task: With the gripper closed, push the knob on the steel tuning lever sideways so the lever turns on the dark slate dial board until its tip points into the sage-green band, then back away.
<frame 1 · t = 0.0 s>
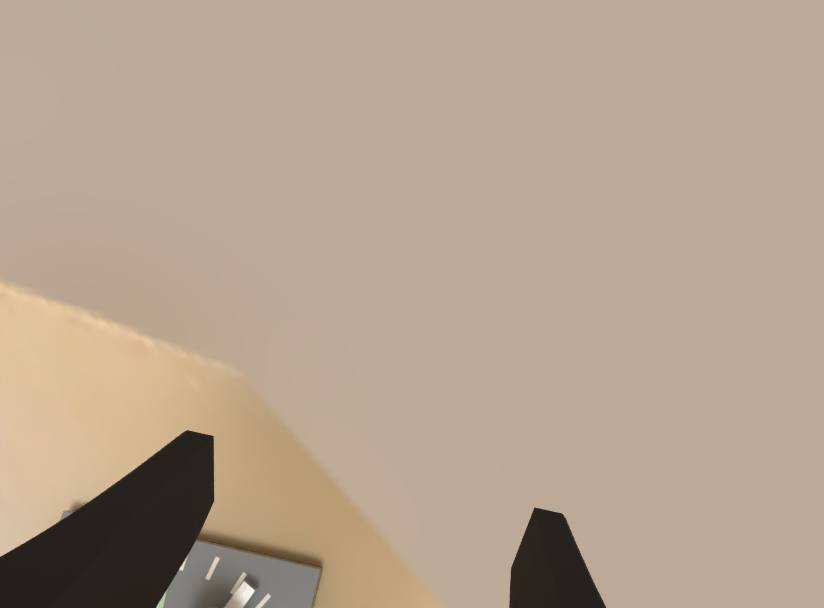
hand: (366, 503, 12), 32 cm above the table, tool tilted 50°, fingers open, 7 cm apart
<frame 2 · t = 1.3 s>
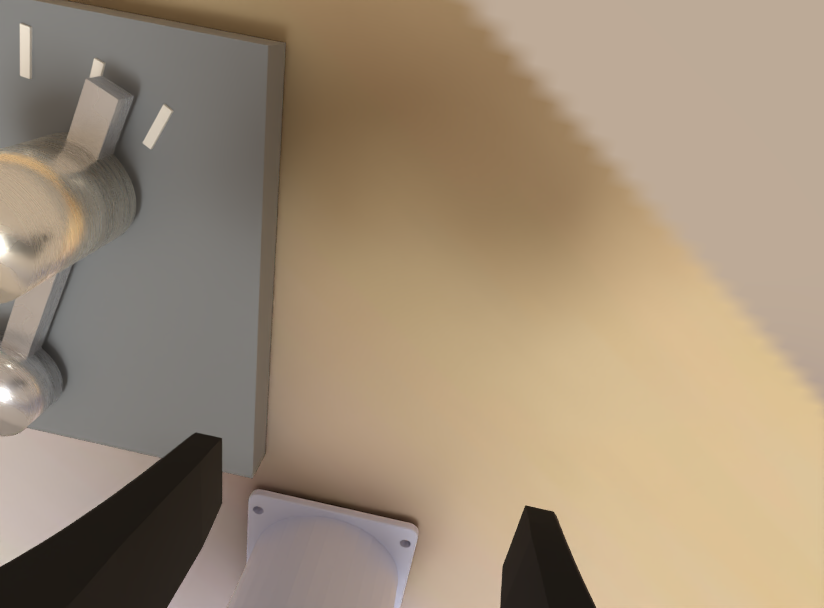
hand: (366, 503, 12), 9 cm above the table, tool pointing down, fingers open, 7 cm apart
lever: (4, 298, 18), point 4 cm above the table, hinge at -24.0°
dial board: (33, 237, 22), on the table
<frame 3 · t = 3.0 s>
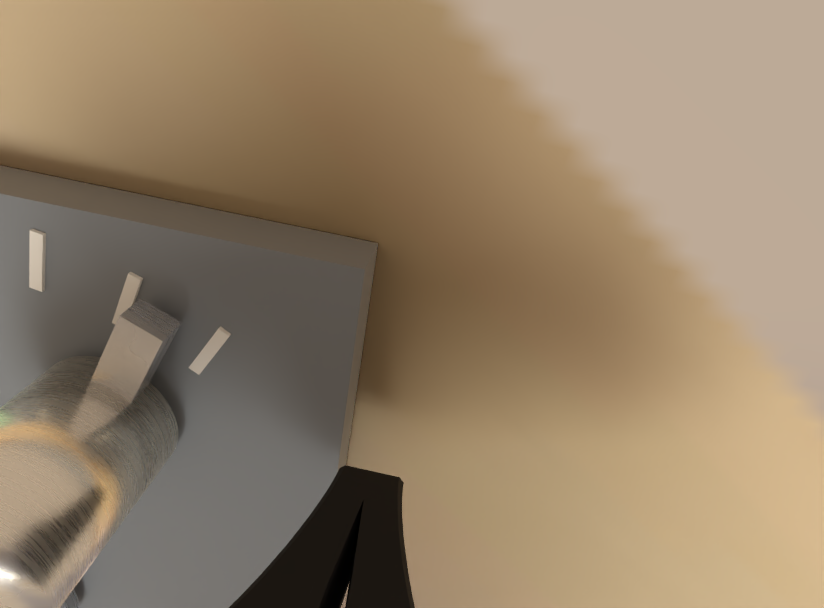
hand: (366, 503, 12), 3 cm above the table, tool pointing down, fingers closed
lever: (8, 565, 14), point 4 cm above the table, hinge at -24.0°
dial board: (43, 432, 17), on the table
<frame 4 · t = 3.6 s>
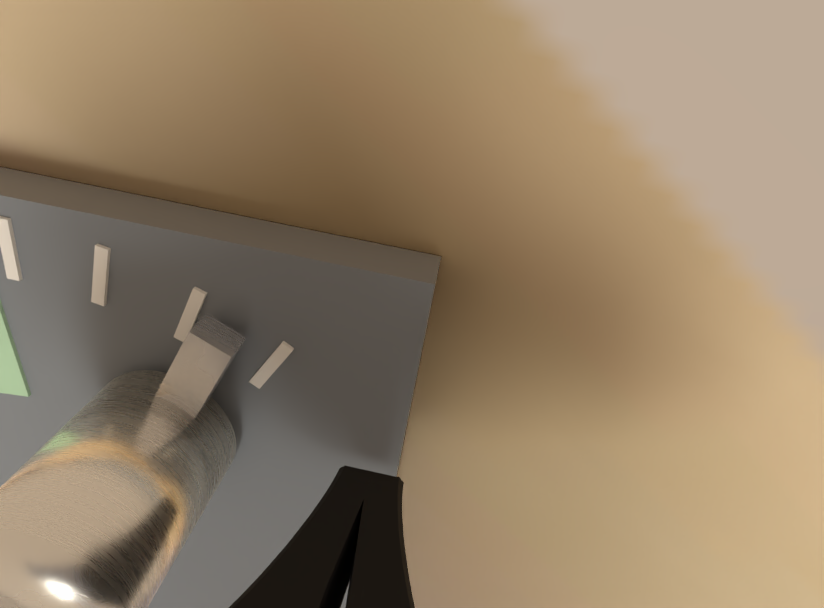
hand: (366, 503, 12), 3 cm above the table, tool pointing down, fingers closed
lever: (67, 580, 14), point 4 cm above the table, hinge at -24.0°
dial board: (90, 443, 17), on the table
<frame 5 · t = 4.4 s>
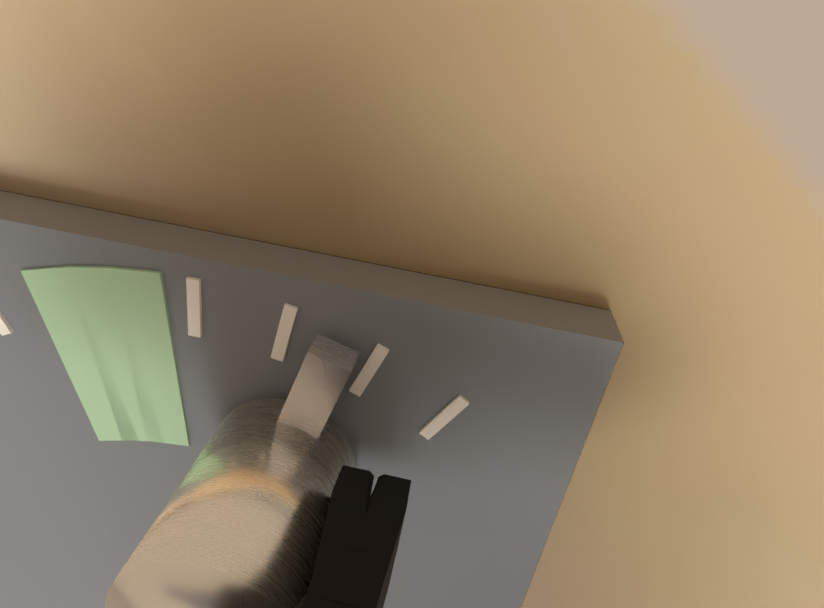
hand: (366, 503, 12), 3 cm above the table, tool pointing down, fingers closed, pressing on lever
dial board: (223, 486, 18), on the table
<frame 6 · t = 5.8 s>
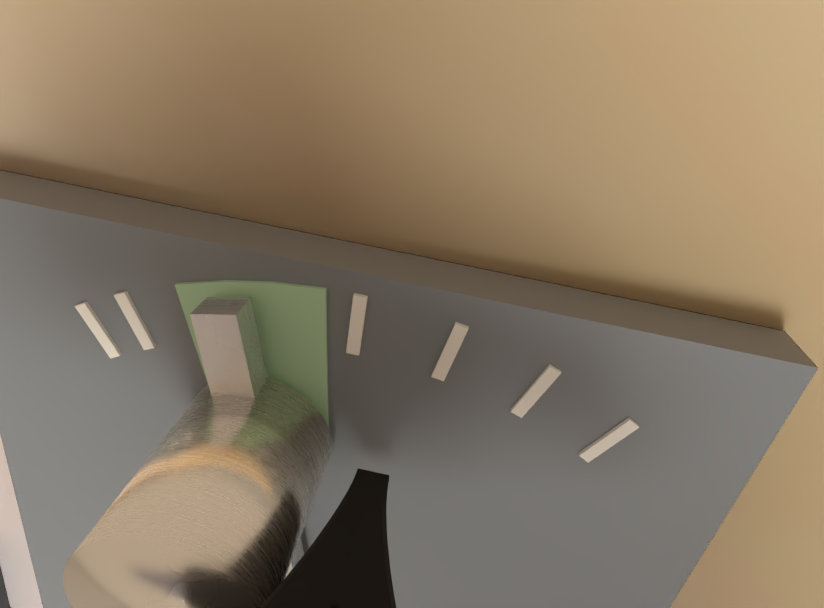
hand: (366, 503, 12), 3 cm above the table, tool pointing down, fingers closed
dial board: (340, 501, 17), on the table
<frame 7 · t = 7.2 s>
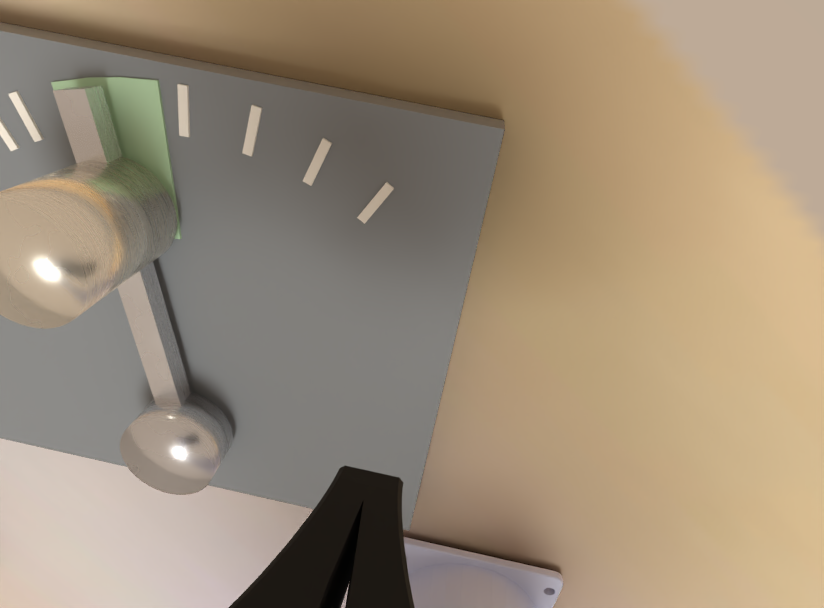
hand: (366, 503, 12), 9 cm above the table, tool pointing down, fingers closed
lever: (113, 338, 18), point 4 cm above the table, hinge at 12.6°
dial board: (209, 297, 22), on the table
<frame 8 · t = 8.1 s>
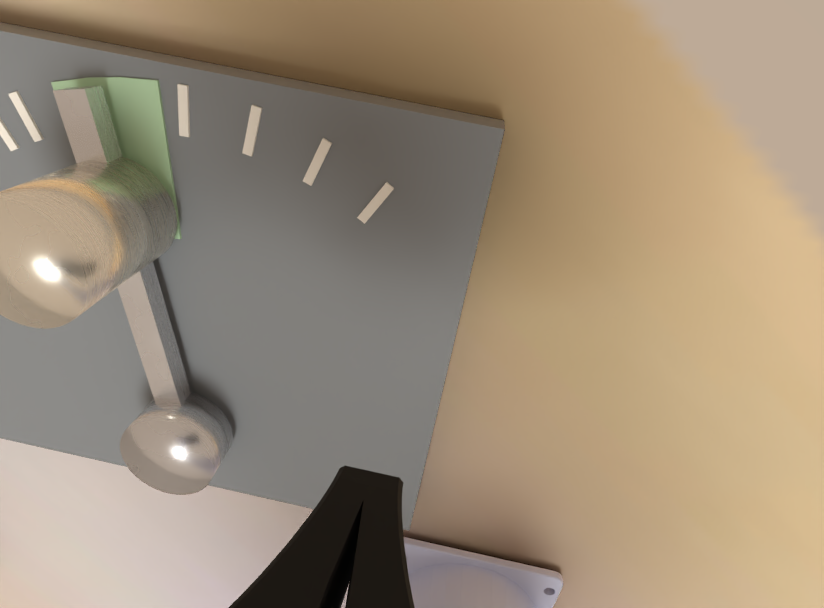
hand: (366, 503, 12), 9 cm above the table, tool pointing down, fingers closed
lever: (113, 338, 18), point 4 cm above the table, hinge at 12.6°
dial board: (209, 297, 22), on the table
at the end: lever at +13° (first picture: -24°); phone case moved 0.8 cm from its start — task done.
